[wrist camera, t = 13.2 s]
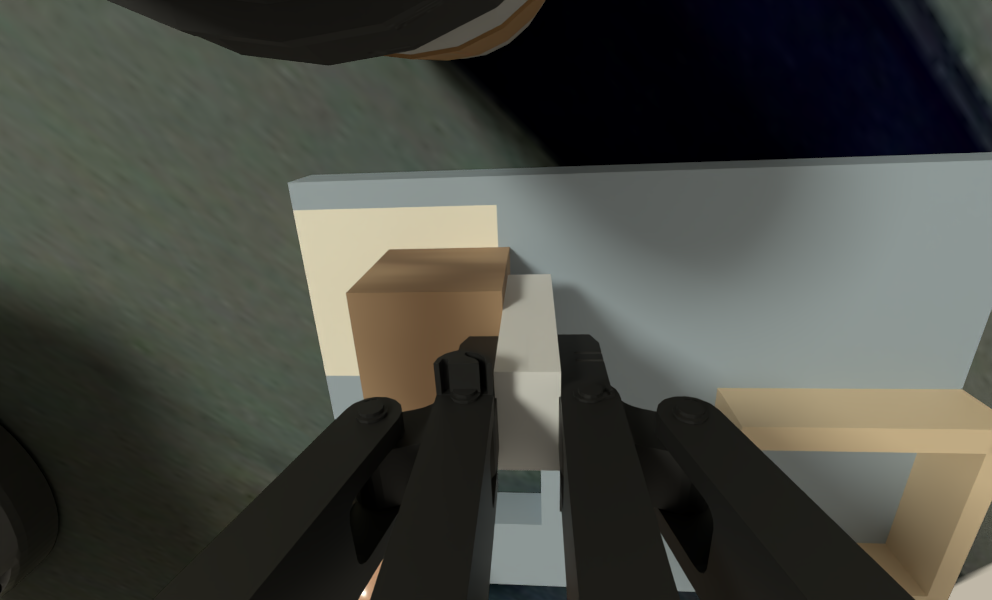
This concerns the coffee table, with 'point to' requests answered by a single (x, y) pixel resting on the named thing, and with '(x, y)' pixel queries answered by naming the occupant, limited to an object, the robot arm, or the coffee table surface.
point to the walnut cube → (422, 315)
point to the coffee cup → (347, 26)
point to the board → (728, 320)
